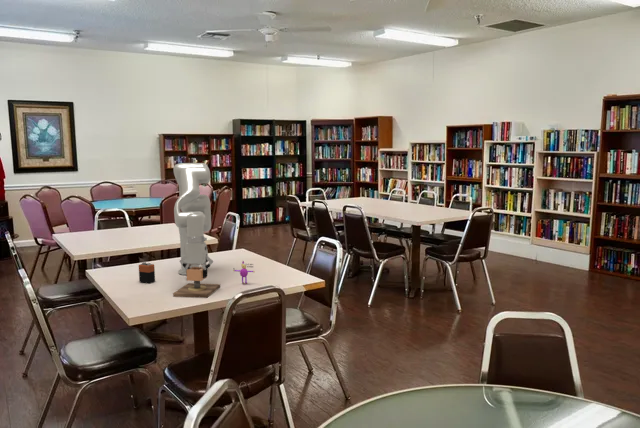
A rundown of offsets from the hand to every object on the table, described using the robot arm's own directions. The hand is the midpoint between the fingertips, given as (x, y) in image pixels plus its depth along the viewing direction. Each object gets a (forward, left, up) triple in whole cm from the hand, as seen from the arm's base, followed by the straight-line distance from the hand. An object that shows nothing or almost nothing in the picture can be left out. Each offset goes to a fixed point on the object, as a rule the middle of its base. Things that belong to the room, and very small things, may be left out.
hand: (196, 277), depth 234 cm
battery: (-14, -32, -7) cm, 36 cm away
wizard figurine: (-16, +18, -7) cm, 25 cm away
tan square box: (0, 0, -1) cm, 1 cm away
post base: (0, 0, -7) cm, 7 cm away
